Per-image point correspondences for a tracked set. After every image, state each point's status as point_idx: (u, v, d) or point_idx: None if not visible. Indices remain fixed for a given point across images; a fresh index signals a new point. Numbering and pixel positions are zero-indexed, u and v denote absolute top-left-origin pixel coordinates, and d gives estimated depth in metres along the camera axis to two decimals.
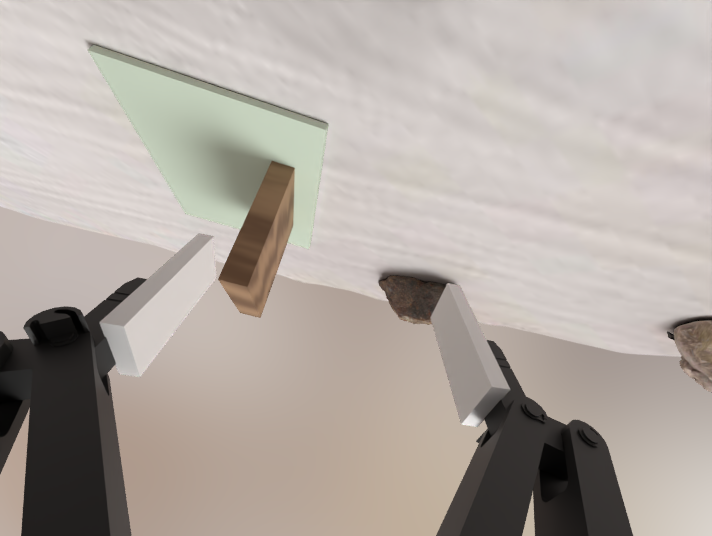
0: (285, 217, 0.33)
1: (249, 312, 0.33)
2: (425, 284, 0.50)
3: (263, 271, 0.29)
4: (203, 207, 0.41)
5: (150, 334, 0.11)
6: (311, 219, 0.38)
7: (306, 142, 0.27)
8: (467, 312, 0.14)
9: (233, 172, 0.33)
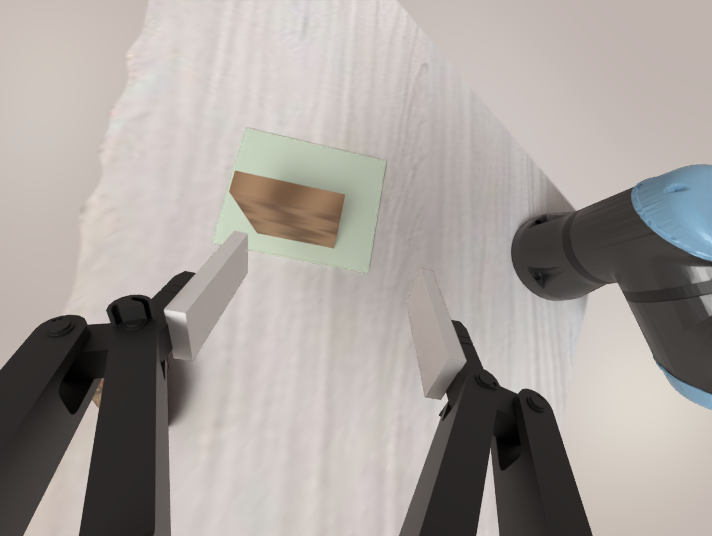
0: (303, 236, 0.40)
1: (247, 185, 0.30)
2: None
3: (306, 218, 0.33)
4: (263, 153, 0.46)
5: (201, 322, 0.12)
6: (273, 252, 0.43)
7: (357, 259, 0.44)
8: (436, 294, 0.15)
9: None
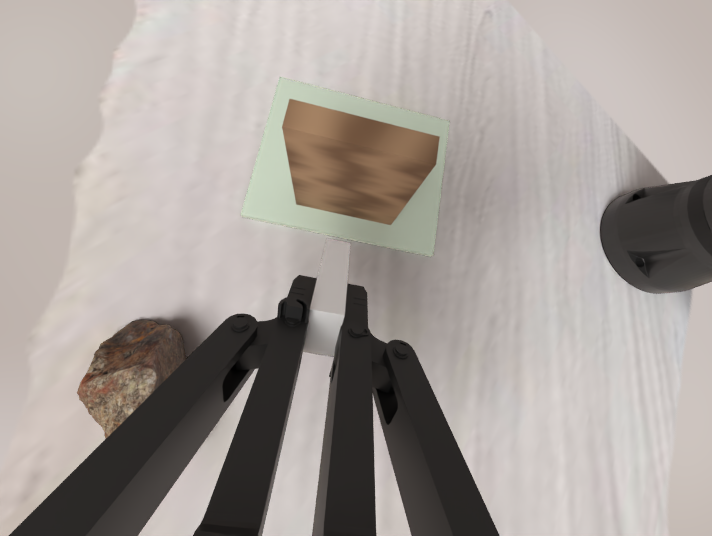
0: (358, 206, 0.32)
1: (306, 118, 0.21)
2: None
3: (379, 173, 0.25)
4: None
5: None
6: (316, 228, 0.34)
7: (419, 239, 0.36)
8: (342, 261, 0.15)
9: None
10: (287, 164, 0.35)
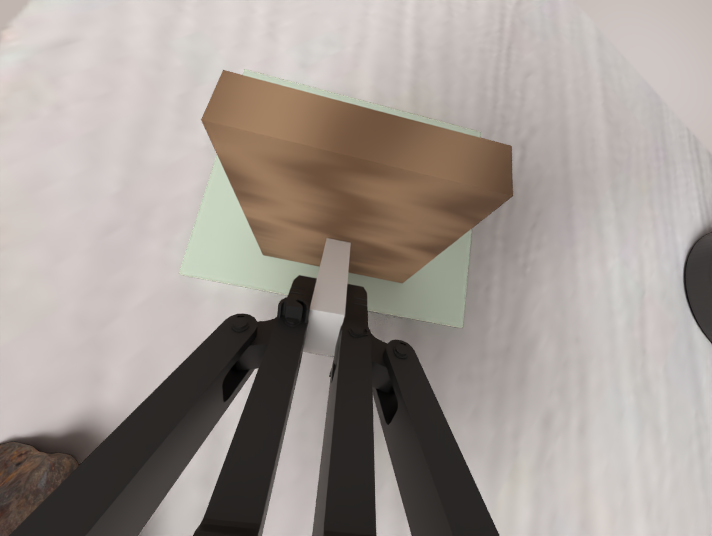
0: (356, 259, 0.21)
1: (255, 107, 0.10)
2: None
3: (395, 212, 0.14)
4: None
5: None
6: None
7: (442, 304, 0.25)
8: (343, 261, 0.15)
9: None
10: None
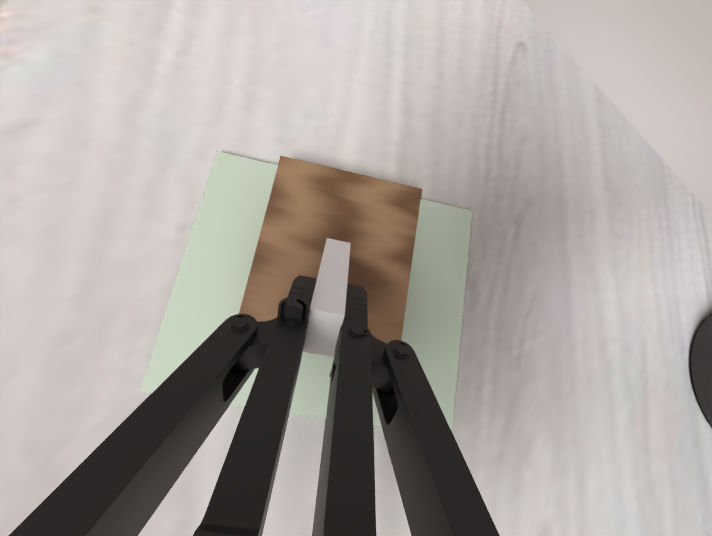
0: None
1: None
2: None
3: (371, 213, 0.23)
4: (249, 200, 0.24)
5: None
6: None
7: None
8: (342, 261, 0.15)
9: None
10: (222, 296, 0.22)
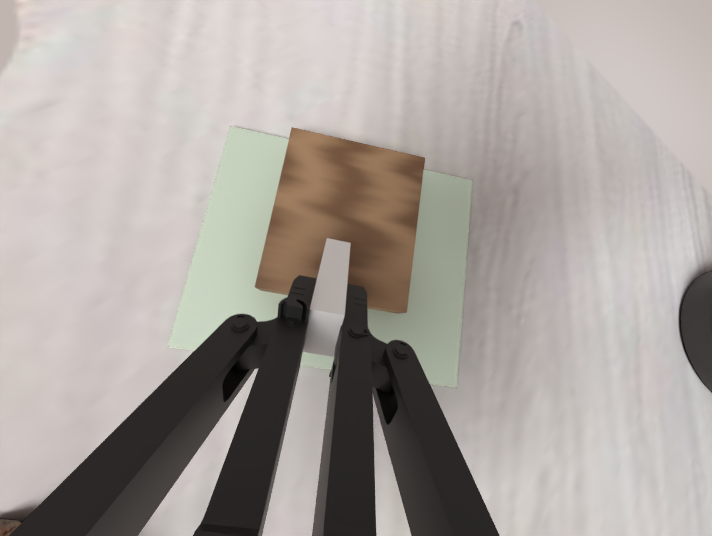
0: (356, 260, 0.23)
1: None
2: None
3: (378, 180, 0.24)
4: (262, 172, 0.26)
5: None
6: None
7: (435, 364, 0.24)
8: (342, 261, 0.15)
9: None
10: (240, 260, 0.24)
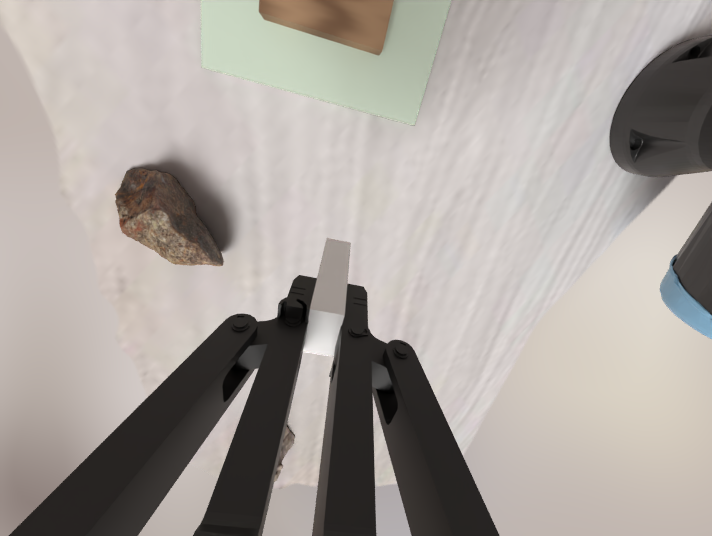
0: None
1: None
2: (200, 220, 0.37)
3: None
4: None
5: None
6: (288, 88, 0.31)
7: (402, 105, 0.33)
8: (342, 261, 0.15)
9: None
10: None
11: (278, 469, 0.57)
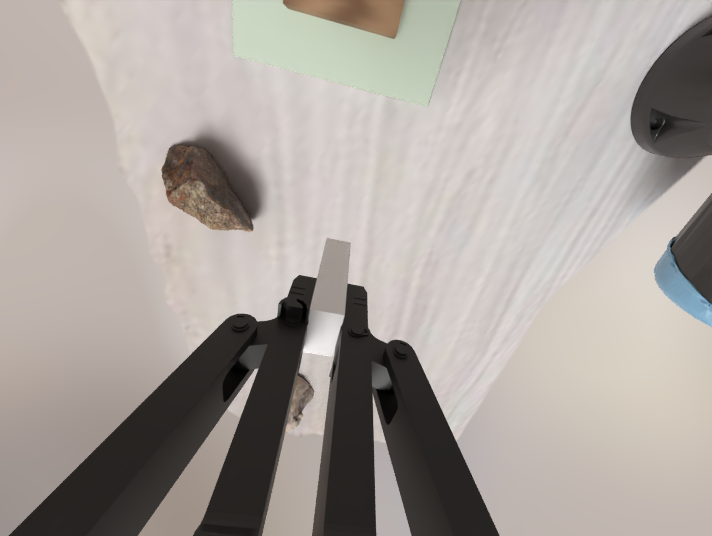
0: None
1: None
2: None
3: None
4: None
5: None
6: (309, 73, 0.34)
7: (416, 87, 0.34)
8: (342, 261, 0.15)
9: None
10: None
11: (299, 417, 0.65)
